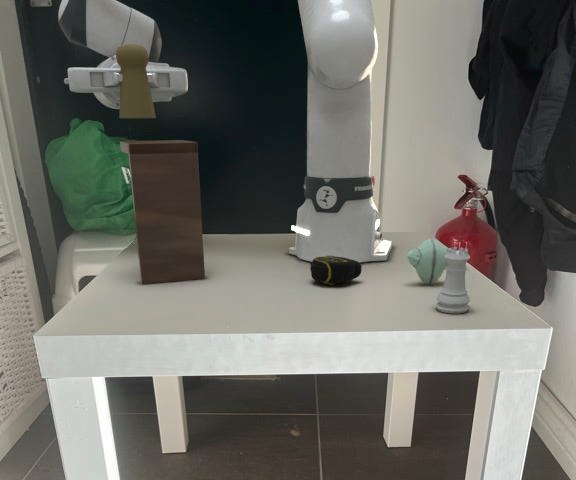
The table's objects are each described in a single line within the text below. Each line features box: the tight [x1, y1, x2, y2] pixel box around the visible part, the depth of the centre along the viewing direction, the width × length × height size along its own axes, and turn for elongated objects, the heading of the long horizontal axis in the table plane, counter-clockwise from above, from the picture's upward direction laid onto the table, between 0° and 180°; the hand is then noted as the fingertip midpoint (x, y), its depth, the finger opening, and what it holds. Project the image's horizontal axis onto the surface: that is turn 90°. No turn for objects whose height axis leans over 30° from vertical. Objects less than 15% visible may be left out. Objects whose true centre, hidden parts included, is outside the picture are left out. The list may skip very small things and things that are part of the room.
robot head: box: [406, 238, 448, 285], centre depth 97 cm, size 8×4×7 cm, turn 94°
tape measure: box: [309, 256, 362, 286], centre depth 99 cm, size 7×7×4 cm
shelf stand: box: [119, 139, 206, 285], centre depth 102 cm, size 11×10×20 cm
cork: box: [116, 44, 157, 119], centre depth 106 cm, size 6×6×11 cm
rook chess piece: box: [435, 247, 471, 315], centre depth 84 cm, size 4×4×8 cm
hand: (135, 78), depth 105 cm, fingers closed on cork, 4 cm apart
